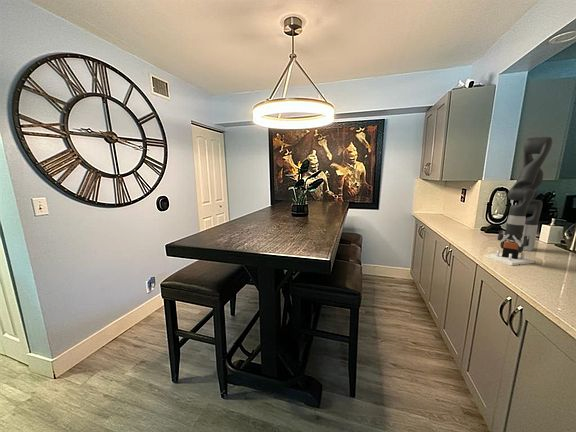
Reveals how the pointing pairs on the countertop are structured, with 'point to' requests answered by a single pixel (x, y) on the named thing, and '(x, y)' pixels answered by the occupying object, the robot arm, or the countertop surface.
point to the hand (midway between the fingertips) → (510, 250)
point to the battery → (510, 249)
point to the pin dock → (510, 259)
